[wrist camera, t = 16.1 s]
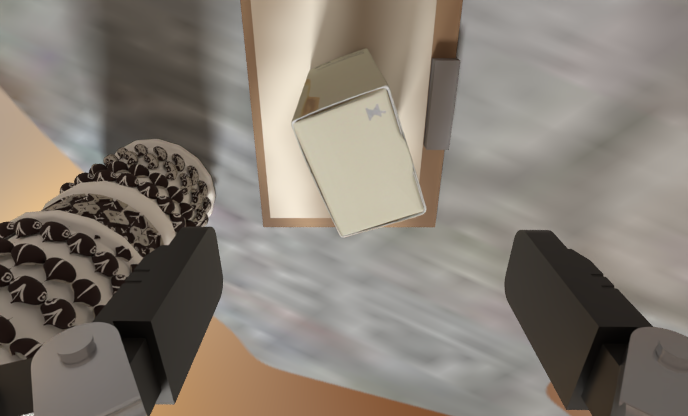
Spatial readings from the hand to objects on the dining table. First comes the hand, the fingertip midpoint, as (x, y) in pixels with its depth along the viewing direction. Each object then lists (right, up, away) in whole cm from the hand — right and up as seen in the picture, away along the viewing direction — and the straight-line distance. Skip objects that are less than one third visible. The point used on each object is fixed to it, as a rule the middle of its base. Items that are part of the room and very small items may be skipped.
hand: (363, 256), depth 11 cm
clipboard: (0, +9, +18) cm, 20 cm away
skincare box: (0, +9, +17) cm, 19 cm away
